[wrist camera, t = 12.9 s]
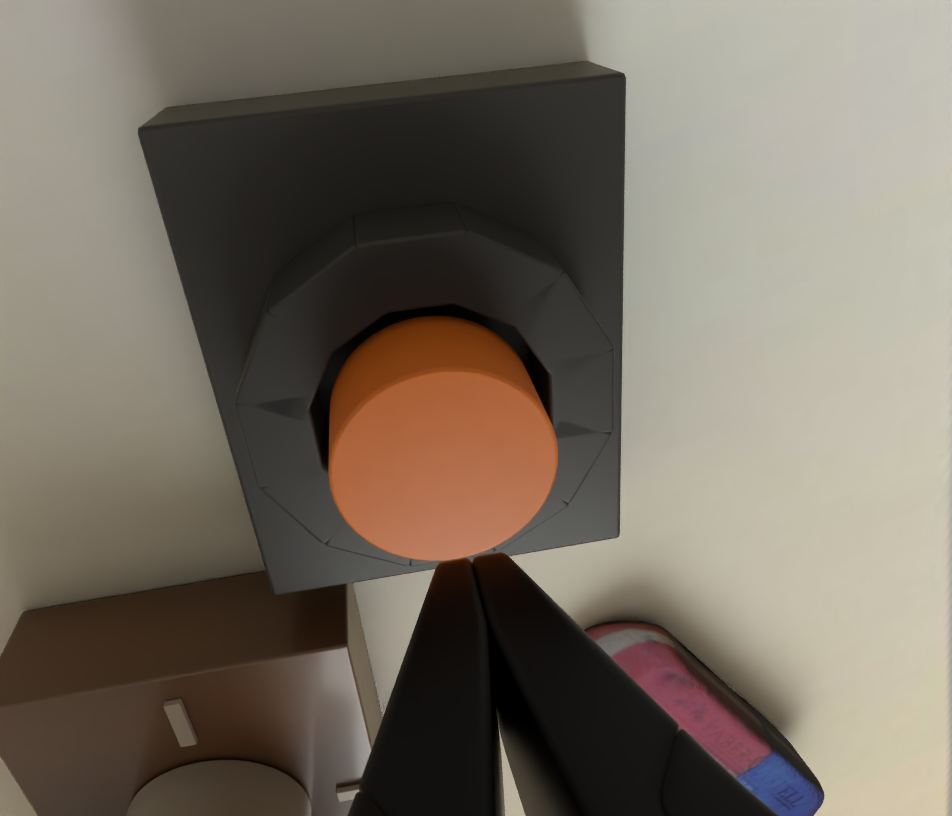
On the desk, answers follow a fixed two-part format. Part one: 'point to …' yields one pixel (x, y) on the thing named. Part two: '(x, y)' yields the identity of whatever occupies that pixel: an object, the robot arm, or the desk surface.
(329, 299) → the orange button panel
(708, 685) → the eraser
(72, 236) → the desk surface
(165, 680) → the dial panel
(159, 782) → the dial
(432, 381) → the button
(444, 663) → the robot arm
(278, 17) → the desk surface
